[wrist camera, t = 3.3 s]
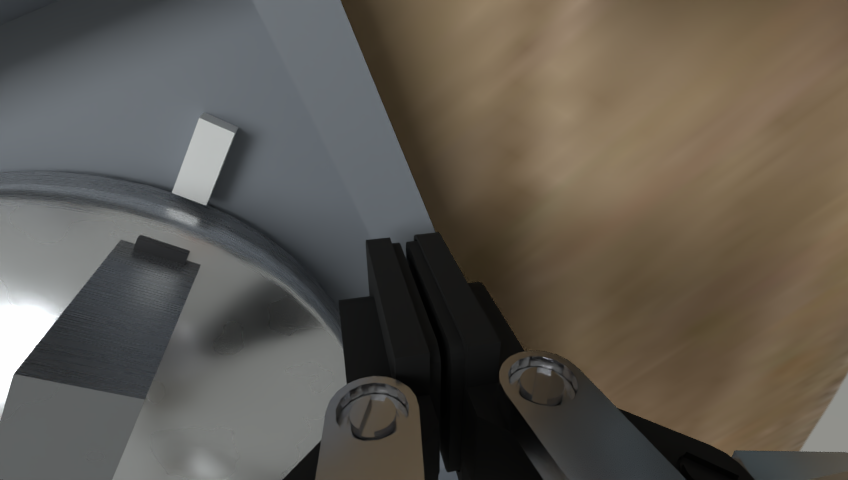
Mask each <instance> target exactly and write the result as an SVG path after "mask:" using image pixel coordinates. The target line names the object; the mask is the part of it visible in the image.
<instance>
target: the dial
mask: <svg viewBox="0 0 848 480" xmlns="http://www.w3.org/2000/svg"><path fill="white" fill-rule="evenodd" d="M346 384H347V382H346V372H345V362H344V352H343V342H342V331H341V321H340V311H339V309H338V307H337V306H336V304H335V302H334V301H333V299H332V298H331V297H330V296H329V294H328V293H327V292H326V290H325V289H324V288H323V287H322V285H321V284H320V283H319V282H318V280H317V279H316V278H315V277H314V276H313V275H312V274H311V273H310V272H309V271H308V270H307V269H306V268H305V267H304V266H303V265H302V264H301V263H299V262H298V261H297V260H296V259H295V258H294V257H293V256H292V255H291V254H289V253H288V252H287V251H285V250H284V249H283V248H281V247H280V246H279V245H277V244H276V243H275V242H273V241H272V240H270V239H269V238H268V237H266V236H265V235H264V234H262V233H260V232H258V231H257V230H255V229H253V228H251V227H250V226H248V225H246V224H244V223H243V222H241V221H239V220H237V219H236V218H234V217H232V216H230V215H228V214H226V213H223V212H221V211H219V210H216V209H214V208H212V207H209V206H207V205H203V204H201V203H198V202H195V201H192V200H190V199H187V198H184V197H181V196H179V195H176V194H173V193H171V192H168V191H165V190H162V189H158V188H155V187H152V186H149V185H144V184H139V183H134V182H129V181H124V180H119V179H114V178H109V177H104V176H97V175H86V174H75V173H64V172H53V171H37V172H0V480H283V479H284V478H285V477H286V476H287V475H288V474H289V473H290V471H291V470H292V469H293V468H294V467H295V466H296V465H297V464H298V463H299V462H300V461H301V460H302V459H303V458H304V457H305V456H306V455H307V454H308V453H309V452H310V451H311V450H312V449H313V448H314V447H315V446H316V445H317V444H318V443H319V442H320V441H321V438H322V432H323V425H324V419H325V412H326V409H327V407H328V404H329V401H330V400H331V399H332V397H333V396H334V395H335V393H336V392H337V391H338V390H340V389H341V388H342V387H344V386H345V385H346Z"/></svg>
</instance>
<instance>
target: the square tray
mask: <svg viewBox="0 0 848 480" xmlns="http://www.w3.org/2000/svg"><path fill="white" fill-rule="evenodd" d="M37 171H53V172H64V173H75V174H86V175H97V176H104V177H109V178H114V179H119V180H124V181H129V182H134V183H139V184H144V185H149V186H152V187H155V188H158V189H162V190H165V191H168V192H171V193H173V194H176V195H179V196H181V197H184V198H187V199H190V200H192V201H195V202H198V203H201V204H203V205H207V206H209V207H212V208H214V209H216V210H219V211H221V212H223V213H226V214H228V215H230V216H232V217H234V218H236V219H237V220H239V221H241V222H243V223H244V224H246V225H248V226H250V227H251V228H253V229H255V230H257V231H258V232H260V233H262V234H264V235H265V236H266V237H268V238H269V239H270V240H272V241H273V242H275V243H276V244H277V245H279V246H280V247H281V248H283V249H284V250H285V251H287V252H288V253H289V254H291V255H292V256H293V257H294V258H295V259H296V260H297V261H298V262H299V263H301V264H302V265H303V266H304V267H305V268H306V269H307V270H308V271H309V272H310V273H311V274H312V275H313V276H314V277H315V278H316V279H317V280H318V282H319V283H320V284H321V285H322V287H323V288H324V289H325V290H326V292H327V293H328V294H329V296H330V297H331V298H332V299H333V301H334V302H335V304H336V306H337V307H338V309H339V300H344V299H351V298H359V297H367V296H369V284H368V270H367V257H366V240H370V239H379V238H389V237H390V239H391V242H392V243H400V244H401V247H402V250H403V252H404V255H405V257H406V242H409V241H414V235H417V234H426V233H436V232H435V230H434V227H433V225H432V222H431V220H430V218H429V215H428V213H427V210H426V208H425V205H424V203H423V201H422V198H421V196H420V193H419V191H418V188H417V186H416V183H415V181H414V179H413V176H412V174H411V171H410V169H409V166H408V164H407V162H406V159H405V157H404V154H403V152H402V149H401V147H400V144H399V142H398V140H397V137H396V135H395V132H394V130H393V127H392V125H391V122H390V120H389V118H388V115H387V113H386V110H385V108H384V105H383V103H382V101H381V98H380V96H379V93H378V91H377V88H376V86H375V83H374V81H373V79H372V76H371V74H370V71H369V69H368V66H367V64H366V61H365V59H364V57H363V54H362V52H361V49H360V47H359V44H358V42H357V40H356V37H355V35H354V32H353V30H352V27H351V25H350V22H349V20H348V18H347V15H346V13H345V10H344V8H343V5H342V3H341V1H340V0H0V172H37ZM438 480H458V477H457V473H456V471H453V472H447V471H446V469H445V466H444V463H443V459H442V456H441V452H440V473H439V475H438Z"/></svg>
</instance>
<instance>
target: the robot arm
mask: <svg viewBox="0 0 848 480" xmlns="http://www.w3.org/2000/svg"><path fill="white" fill-rule="evenodd" d="M366 257H367V270H368V284H369V296H367V297H359V298H351V299H344V300H339V311H340V321H341V331H342V342H343V352H344V362H345V372H346V382H347V384H346V385H345V386H344V387H342V388H341V389H340V390H338V391H337V392H336V393H335V395H334V396H333V397H332V399H331V400H330V401H329V404H328V407H327V409H326V412H325V419H324V425H323V432H322V438H321V441H320V442H319V443H318V444H317V445H316V446H315V447H314V448H313V449H312V450H311V451H310V452H309V453H308V454H307V455H306V456H305V457H304V458H303V459H302V460H301V461H300V462H299V463H298V464H297V465H296V466H295V467H294V468H293V469H292V470H291V471H290V473H289V474H288V475H287V476H286V477H285V478H284V479H283V480H438V475H439V473H440V452H441V456H442V459H443V463H444V466H445V469H446V471H447V472H453V471H456V473H457V477H458V480H848V453H846V452H796V451H734V453H733V455H732V457H730V456H729V455H728V454H726V453H724V452H723V451H721V450H719V449H717V448H715V447H713V446H711V445H708V444H706V443H703V442H701V441H698V440H696V439H693V438H691V437H688V436H686V435H683V434H681V433H678V432H676V431H673V430H671V429H668V428H666V427H663V426H661V425H658V424H656V423H653V422H651V421H648V420H646V419H643V418H641V417H638V416H636V415H633V414H631V413H628V412H626V411H623V410H621V409H618V408H616V406H615V405H614V404H613V403H612V402H611V401H610V400H609V399H608V398H607V397H606V396H605V395H604V394H603V393H602V392H601V391H600V390H599V389H598V388H597V387H596V386H595V385H594V384H593V383H592V382H591V381H590V380H589V379H588V378H587V377H586V376H585V375H584V373H583V372H582V371H581V370H580V369H579V368H577V367H576V366H575V365H574V364H573V363H571V362H570V361H569V360H567V359H565V358H563V357H561V356H559V355H557V354H553V353H549V352H545V351H534V350H530V351H524V349H523V348H522V346H521V345H520V343H519V341H518V340H517V338H516V337H515V335H514V333H513V332H512V330H511V328H510V327H509V325H508V324H507V322H506V320H505V319H504V317H503V316H502V314H501V312H500V311H499V309H498V307H497V306H496V304H495V303H494V301H493V299H492V298H491V296H490V295H489V293H488V291H487V290H486V288H485V286H484V285H483V284H482V283H481V282H474V283H467V281H466V279H465V278H464V276H463V274H462V272H461V270H460V269H459V267H458V265H457V263H456V262H455V260H454V258H453V256H452V255H451V253H450V251H449V249H448V248H447V246H446V244H445V242H444V240H443V239H442V237H441V235H440V234H439V232H436V233H426V234H417V235H414V241H409V242H406V257H405V255H404V252H403V250H402V247H401V244H400V243H392V242H391V239H390V237H389V238H379V239H370V240H366Z"/></svg>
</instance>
